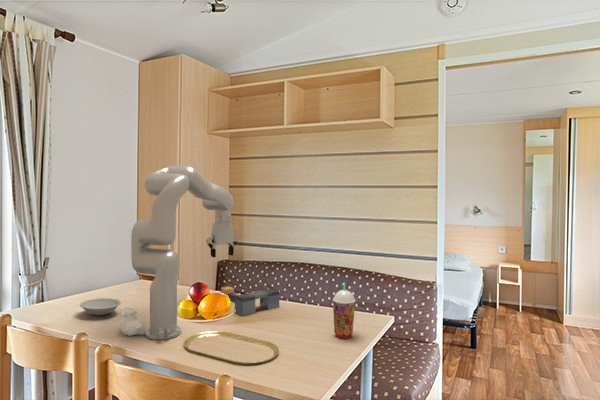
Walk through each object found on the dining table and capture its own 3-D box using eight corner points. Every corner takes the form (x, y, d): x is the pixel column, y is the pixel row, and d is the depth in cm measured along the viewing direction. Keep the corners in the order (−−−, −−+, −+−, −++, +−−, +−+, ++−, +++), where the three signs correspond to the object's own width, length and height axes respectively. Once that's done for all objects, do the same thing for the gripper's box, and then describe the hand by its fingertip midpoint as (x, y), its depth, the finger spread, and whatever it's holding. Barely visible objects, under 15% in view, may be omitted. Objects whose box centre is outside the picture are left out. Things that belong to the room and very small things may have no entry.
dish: (129, 313, 174) (129, 302, 174) (97, 323, 162) (97, 311, 162) (102, 307, 183) (102, 296, 183) (71, 316, 171) (71, 304, 170)
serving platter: (208, 332, 156) (208, 327, 156) (288, 350, 140) (288, 345, 140) (172, 349, 139) (172, 344, 139) (258, 372, 123) (258, 367, 123)
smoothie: (328, 337, 151) (329, 283, 150) (337, 330, 158) (338, 279, 157) (350, 341, 147) (351, 286, 146) (357, 334, 154) (358, 281, 153)
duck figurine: (121, 336, 154) (104, 318, 148) (135, 320, 159) (119, 301, 153) (141, 343, 148) (124, 324, 142) (155, 326, 153) (139, 307, 147)
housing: (279, 307, 187) (279, 290, 186) (242, 316, 173) (242, 298, 173) (271, 304, 191) (271, 288, 191) (234, 312, 178) (235, 295, 177)
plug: (252, 305, 189) (252, 295, 188) (244, 307, 186) (244, 296, 185) (229, 296, 203) (229, 286, 203) (221, 298, 200) (221, 288, 200)
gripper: (233, 219, 204) (233, 253, 204) (202, 220, 192) (202, 256, 193) (242, 220, 198) (241, 255, 199) (210, 221, 187) (210, 258, 187)
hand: (222, 256), depth 196 cm, fingers open, 9 cm apart
